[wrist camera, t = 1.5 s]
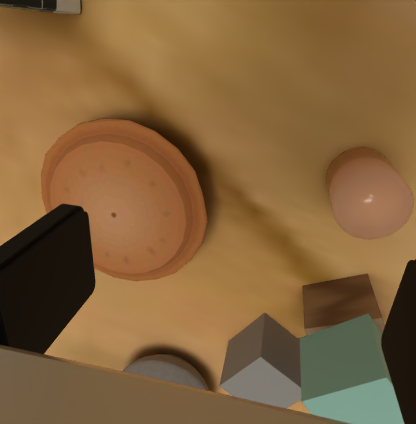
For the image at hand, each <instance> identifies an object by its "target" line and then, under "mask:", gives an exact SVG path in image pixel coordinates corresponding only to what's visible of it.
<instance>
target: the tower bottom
mask: <svg viewBox="0 0 416 424" xmlns="http://www.w3.org/2000/svg"><path fill="white" fill-rule="evenodd" d="M303 304H304V325H305V331H306V334H307V335H310V334H313V333H316V332H318V331H321V330H324V329H327V328H329V327H332V326H335V325H338V324H340V323H343V322H346V321H348V320H351V319H354V318H357V317H359V316H362V315H365V314H368V313H369V315H370V316H371V318H372V319H373V321H374V322H375V324H376V325H377V327H378V328H379V330H380V331H381V333H383V330H384V328H385V327H384V324H383V320H382V316H381V313H380V310H379V307H378V304H377V301H376V298H375V295H374V292H373V289H372V286H371V283H370V280H369V277H368V274H363V275H358V276H352V277H347V278H342V279H336V280H331V281H325V282H320V283H315V284H309V285H304V286H303Z"/></svg>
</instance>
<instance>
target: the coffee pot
mask: <svg viewBox="0 0 416 424" xmlns="http://www.w3.org/2000/svg"><path fill="white" fill-rule="evenodd" d="M123 372H127V373H131V374H136V375H140V376H145V377H149V378H154V379H158V380H163V381H167V382H172V383H176V384H181V385H185V386H189V387H194V388H198V389H203V390H207V391H209V388H208V386H207V384H206V382H205V380H204V379H203V378H202V376H201V375H200V374H199V373H198V371H197V370H196V369H195V368H194V367H193V365H191V364H190V363H189V362H187V361H186V360H184V359H182V358H180V357H178V356H174V355H171V354H156V355H150V356H144V357H142V358H139V359H137V360H135V361H134V362H132V363H131V364H130V365H129V366H127V367H126V368H125V369H124V370H123Z"/></svg>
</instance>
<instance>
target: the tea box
mask: <svg viewBox="0 0 416 424" xmlns="http://www.w3.org/2000/svg"><path fill="white" fill-rule="evenodd" d="M0 7H7V8H16V9H24V10H34V11H42V12H51V13H65V14H80V12H81V10H80V0H0Z"/></svg>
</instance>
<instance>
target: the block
mask: <svg viewBox="0 0 416 424" xmlns="http://www.w3.org/2000/svg"><path fill="white" fill-rule="evenodd" d="M220 387H221V388H223V389H224V390H225V391H227V392H228V393H230V394H231V395H232V396H234V397H238V398H242V399H247V400H251V401H256V402H260V403H264V404H269V405H273V406H277V407H282V408H288V407H290V406H291V405H293V404H295V403H296V402H298V401H300V400H301V367H300V340H299V339H297V338H296V337H295V336H294V335H292V334H291V333H290V332H289V331H287V330H286V329H285V328H284V327H282V326H281V325H280V324H278V323H277V322H276V321H275V320H273V319H272V318H271V317H270V316H268V315H267V314H266V313H264V314H263V315H261V316H260V317H259V318H258V319H256V320H255V321H254V322H253V323H251V324H250V325H249V326H247V327H246V328H245V329H244V330H242V331H241V332H240V333H238V334H237V335H236V336H235V337H233V338H232V339H231V340H230V341H229V343H228V348H227V352H226V357H225V362H224V367H223V371H222V376H221V381H220Z"/></svg>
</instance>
